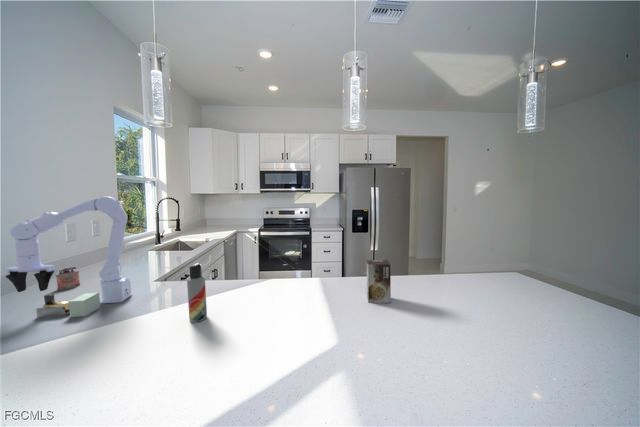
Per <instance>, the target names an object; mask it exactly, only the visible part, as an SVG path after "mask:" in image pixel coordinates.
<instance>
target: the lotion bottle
mask: <svg viewBox="0 0 640 427" xmlns="http://www.w3.org/2000/svg"><path fill="white" fill-rule="evenodd" d="M188 269H189V277H187V280H186V282H187V283H186V284H187V285H186V287H187V299H188V300H187V301H188V302H187V303H188V318H189V321H190V322H191V321H192V322H191V323H199V322H198V321H200V322H203V321H204V319H205V318H206V319H207V317H208V311H207V310H208V309H207V308H208V307H207V295H206V294H207V292H206V289H207V288H206V277H205V276H204V275H203V273H202V272H203V271H202V264H200V263H195V264H192V265H190V266H189V268H188ZM206 319H205V320H206ZM202 320H203V321H202Z"/></svg>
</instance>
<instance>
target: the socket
mask: <svg viewBox="0 0 640 427" xmlns="http://www.w3.org/2000/svg"><path fill="white" fill-rule="evenodd" d="M100 300H101V299H100V292H87V293H86V292H85V293H84V294H83V293H82V295H79V296H77V297H75V298H73V299H70V300H68V301H69V308H70V313H69V315H70V316H69V317H70V318H77V317H87V316H88V315H90V314H91V313H93V312H95V311H96V310H98V309H100V308H101V303H100Z"/></svg>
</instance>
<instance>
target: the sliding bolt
mask: <svg viewBox="0 0 640 427" xmlns="http://www.w3.org/2000/svg"><path fill="white" fill-rule="evenodd" d="M43 300H44V304H43V306H42V308H46V307H64V306H65V311H68V310H70V308H69V302H65V301H56V300H55V293H49V294H48V293H47V294H45V295H43Z"/></svg>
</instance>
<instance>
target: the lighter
mask: <svg viewBox="0 0 640 427" xmlns="http://www.w3.org/2000/svg"><path fill="white" fill-rule="evenodd" d="M77 267H78V266H76V265H74V266H70V267H65V266H64V267H63V268H59V269H58V272H59V273H56V274H55V277H56V283H57V284H56V285H57V289H56V291H63V290H64V291H65V290H68V289H72V288H76V287H80V286H81V283H80V282H81V281H80V274H79V273H80V270H79V269H78V268H77Z"/></svg>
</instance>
